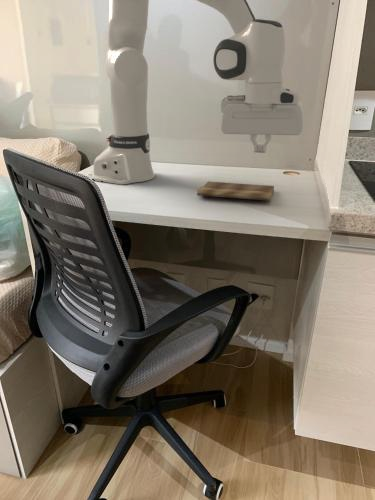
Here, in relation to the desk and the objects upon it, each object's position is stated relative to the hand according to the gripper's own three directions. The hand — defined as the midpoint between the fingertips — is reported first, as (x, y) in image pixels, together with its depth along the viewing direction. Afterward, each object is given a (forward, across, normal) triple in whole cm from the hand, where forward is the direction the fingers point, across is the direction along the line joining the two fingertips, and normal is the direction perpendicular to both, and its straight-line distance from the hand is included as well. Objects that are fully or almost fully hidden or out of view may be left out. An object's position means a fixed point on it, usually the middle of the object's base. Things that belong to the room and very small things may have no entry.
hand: (260, 152), depth 102 cm
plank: (+13, -6, +1) cm, 14 cm away
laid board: (+13, -6, +8) cm, 17 cm away
